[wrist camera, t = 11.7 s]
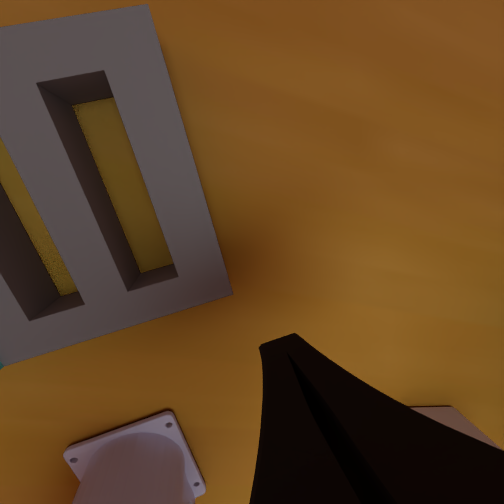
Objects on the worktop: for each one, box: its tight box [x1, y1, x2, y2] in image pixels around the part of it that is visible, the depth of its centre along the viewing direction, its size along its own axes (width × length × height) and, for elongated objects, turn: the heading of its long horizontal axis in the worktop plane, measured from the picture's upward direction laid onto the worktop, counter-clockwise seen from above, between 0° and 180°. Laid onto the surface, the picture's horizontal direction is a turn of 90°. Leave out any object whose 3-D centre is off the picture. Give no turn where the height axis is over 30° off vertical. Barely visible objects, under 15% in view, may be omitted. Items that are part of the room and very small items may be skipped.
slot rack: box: [0, 4, 233, 369], centre depth 13 cm, size 14×18×3 cm
